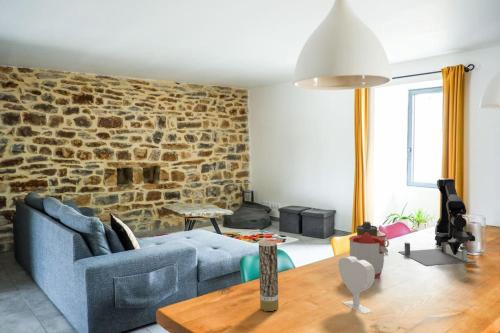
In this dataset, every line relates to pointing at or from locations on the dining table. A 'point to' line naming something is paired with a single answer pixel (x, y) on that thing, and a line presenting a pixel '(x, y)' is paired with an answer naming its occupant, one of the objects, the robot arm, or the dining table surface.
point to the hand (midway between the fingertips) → (454, 254)
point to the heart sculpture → (356, 279)
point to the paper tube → (268, 275)
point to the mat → (434, 257)
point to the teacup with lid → (382, 235)
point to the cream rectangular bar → (460, 253)
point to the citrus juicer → (369, 250)
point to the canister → (367, 229)
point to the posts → (407, 248)
